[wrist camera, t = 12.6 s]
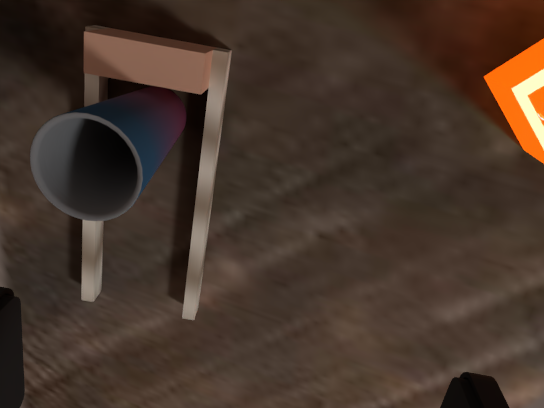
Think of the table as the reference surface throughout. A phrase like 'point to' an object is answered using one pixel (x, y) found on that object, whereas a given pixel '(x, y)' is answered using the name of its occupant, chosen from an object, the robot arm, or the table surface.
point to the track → (173, 75)
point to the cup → (106, 152)
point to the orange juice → (523, 96)
